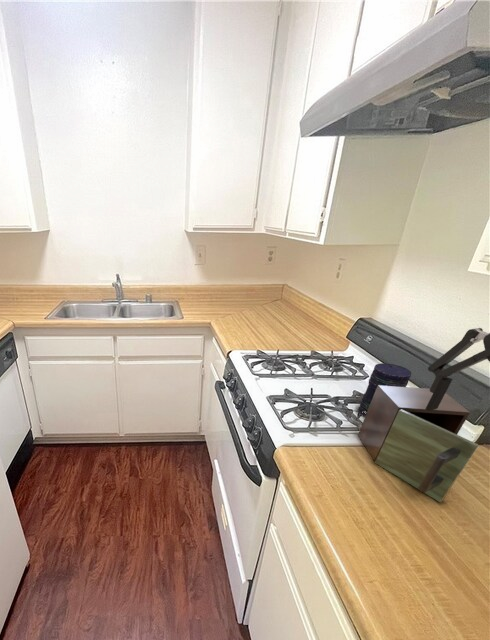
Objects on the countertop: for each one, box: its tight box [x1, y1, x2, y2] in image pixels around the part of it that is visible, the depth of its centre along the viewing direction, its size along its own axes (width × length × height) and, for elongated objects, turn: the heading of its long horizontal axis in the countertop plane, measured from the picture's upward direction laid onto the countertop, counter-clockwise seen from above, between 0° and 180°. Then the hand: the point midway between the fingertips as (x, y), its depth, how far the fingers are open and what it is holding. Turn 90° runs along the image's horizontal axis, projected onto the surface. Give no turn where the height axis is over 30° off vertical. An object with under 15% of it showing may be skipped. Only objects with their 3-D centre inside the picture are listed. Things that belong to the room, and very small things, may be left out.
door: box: [374, 409, 479, 503], centre depth 77 cm, size 7×16×16 cm, turn 29°
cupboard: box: [357, 385, 471, 462], centre depth 89 cm, size 12×16×16 cm
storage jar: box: [357, 362, 413, 418], centre depth 106 cm, size 10×10×15 cm
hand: (467, 425), depth 65 cm, fingers open, 13 cm apart
